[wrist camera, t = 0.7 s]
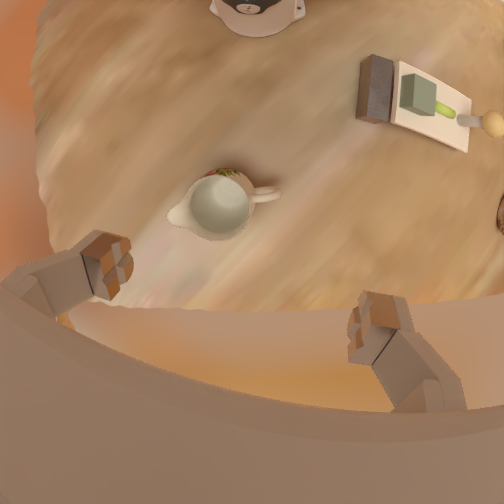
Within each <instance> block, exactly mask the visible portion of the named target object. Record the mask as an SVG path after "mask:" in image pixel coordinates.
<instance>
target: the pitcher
mask: <svg viewBox="0 0 504 504" xmlns="http://www.w3.org/2000/svg"><path fill="white" fill-rule="evenodd" d="M257 194H259V195H257ZM281 195H282V190H281V188H280V187H274V186H270V187H257V188H254V187H253V185H252V183H251V182H250V180H249V179H248V178H247V177H246V176H245V175H244V174H242V173H241V172H239V171H236V170H234V169H229V168H221V169H216V170H213V171H210V172H208V173H207V174H205V175H204V176H202V177H201V178H200V179H199V180H198V181H196V182H195V183H194V184H193V185H192V186H191V187H190V188H189V189H188V191H187V192H186V194H185V196H184V198H183V199H182V201H181V202H180V203H178V204H177V205H175V206H174V207H173V208H171V209H170V210H169V211H168V213H167V215H166V218H167V221H168V222H169V223H170V224H171V225H173V226H176V227H180V228H185V229H188V230H190V231H192V232H193V233H195V234H196V235H198V236H199V237H201V238H203V239H206V240H210V241H226V240H229V239H232V238H234V237H236V236H237V235H238V234H240V233H241V232H242V231H243V229H244V228H245V227H246V225H247V223H248V221H249V219H250V218H251V216H252V214H253V212H254V209H255V205H256V203H259V202H267V201H272V200H275V199H278V198H280V197H281Z"/></svg>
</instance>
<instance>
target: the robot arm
mask: <svg viewBox="0 0 504 504" xmlns="http://www.w3.org/2000/svg"><path fill="white" fill-rule="evenodd" d="M297 8H300V10H299V9H297ZM210 11H211V13H213V14H214V15H216V16H218V17H220V18H221V19H222V21H223V22H224V24H225V25H226V26H227V27H228V28H229V29H230V30H232V31H233V32H235V33H237V34H240V35H243V36H248V37H265V36H270V35H273V34H276V33H278V32H280V31H282V30H283V29H285V28H286V27H287V26H288V25H289V24H290V23H292V22H294V21H297V20H300V19H302V18H304V17H305V16H306V10H305V5H304V0H213V1H212V3H211V5H210ZM130 250H131V243H130V240H129V239H128V238H127V237H123V236H120V235H116V234H112V233H108V232H104V231H100V230H93V231H92V232H91V233H90V234H88V235H87V236H86V237H85V238H83V239H82V240H81V241H80V242H79V243H77V244H76V245H75V246H74V247H73V248H71V249H70V250H64V251H61V252H58V253H55V254H53V255H50V256H47V257H44V258H41V259H38V260H35V261H33V262H30V263H27V264H25V265H22V266H19V267H17V268H16V269H15V270H14V271H13V272H12V273H11V274H10V275H9V276H8V277H7V278H5V279H4V280H3V281H2V282H1V283H0V504H504V405H499V406H493V407H487V408H480V409H471V410H467V406H466V402H465V397H464V392H463V388H462V384H461V380H460V378H459V377H458V376H457V375H456V374H455V372H454V371H453V370H452V369H451V368H450V367H449V365H448V364H447V363H446V362H445V361H444V360H443V359H442V357H441V356H440V355H439V354H438V353H437V352H436V351H435V350H434V348H433V347H432V346H431V345H430V344H429V343H428V342H427V341H426V340H425V339H424V338H423V336H422V335H421V334H420V333H418V332H415V329H414V326H413V322H412V319H411V315H410V312H409V309H408V305H407V302H406V299H405V298H404V297H400V296H394V295H386V294H381V293H375V292H370V291H365V290H363V291H362V292H361V294H360V296H359V298H358V305H359V306H357V307H356V308H354V309H353V311H352V313H351V315H350V318H349V322H348V329H347V335H348V337H349V338H350V340H351V342H350V343H349V345H348V359H349V360H348V362H350V363H356V364H362V365H369V366H372V369H373V371H374V372H375V374H376V376H377V378H378V379H379V381H380V383H381V384H382V386H383V388H384V390H385V391H386V393H387V395H388V397H389V398H390V400H391V402H392V404H393V405H394V407H395V408H394V409H393V410H392V411H391V412H390V413H385V412H383V413H382V412H366V411H352V410H342V409H332V408H323V407H316V406H310V405H303V404H296V403H290V402H285V401H280V400H274V399H269V398H264V397H260V396H255V395H250V394H246V393H242V392H238V391H234V390H230V389H226V388H222V387H219V386H215V385H211V384H208V383H205V382H201V381H198V380H195V379H192V378H188V377H185V376H182V375H179V374H176V373H173V372H170V371H167V370H165V369H162V368H159V367H156V366H154V365H151V364H148V363H146V362H143V361H141V360H138V359H136V358H133V357H130V356H128V355H126V354H124V353H121V352H119V351H116V350H114V349H112V348H110V347H108V346H105V345H103V344H101V343H99V342H97V341H95V340H92V339H90V338H88V337H86V336H84V335H82V334H80V333H78V332H76V331H74V330H72V329H71V328H69V327H67V326H65V325H63V324H61V323H59V322H58V321H56V319H55V318H56V317H57V316H59V315H61V314H63V313H64V312H66V311H68V310H70V309H71V308H73V307H75V306H77V305H78V304H80V303H82V302H84V301H86V300H87V299H89V298H91V297H93V295H94V296H97V297H100V298H103V299H106V300H109V301H111V300H112V299H113V298H114V297H115V296H116V294H117V293H118V292H119V291H120V285H121V284H124V283H126V282H127V281H128V280H129V279H130V277H131V275H132V272H133V267H134V262H133V258H132V256H131V255H130V253H129V251H130Z"/></svg>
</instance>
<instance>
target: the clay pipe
mask: <svg viewBox="0 0 504 504" xmlns="http://www.w3.org/2000/svg"><path fill="white" fill-rule="evenodd" d="M497 220H498V225H499V228H500V231H501V233H502V234H503V235H504V198H503V200H502V201H501V203H500V206H499V209H498V212H497Z"/></svg>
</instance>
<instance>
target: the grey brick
mask: <svg viewBox="0 0 504 504" xmlns="http://www.w3.org/2000/svg"><path fill="white" fill-rule="evenodd" d="M392 68H393V61H392V60H389V59H386V58H383V57H380V56H377V55H373V54H371V55H370V56H369V57H368V58H367V59H365V60H364V61H363V62H362V63H361V68H360V80H359V91H358V101H357V110H356V118H355V119H359V120H363V121H367V122H371V123H382V122H388V117H389V108H390V97H391V85H392Z"/></svg>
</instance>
